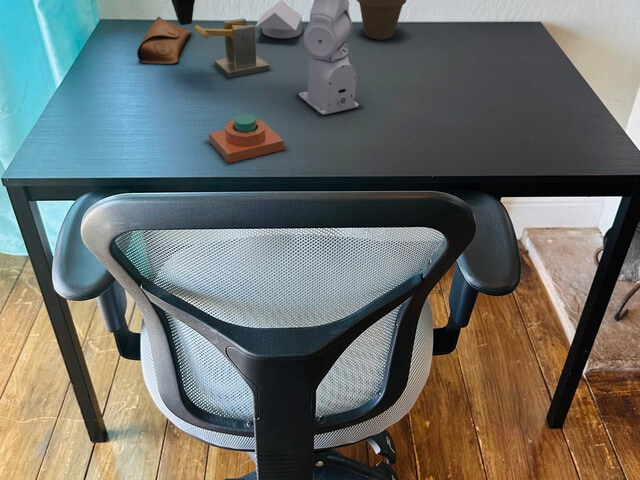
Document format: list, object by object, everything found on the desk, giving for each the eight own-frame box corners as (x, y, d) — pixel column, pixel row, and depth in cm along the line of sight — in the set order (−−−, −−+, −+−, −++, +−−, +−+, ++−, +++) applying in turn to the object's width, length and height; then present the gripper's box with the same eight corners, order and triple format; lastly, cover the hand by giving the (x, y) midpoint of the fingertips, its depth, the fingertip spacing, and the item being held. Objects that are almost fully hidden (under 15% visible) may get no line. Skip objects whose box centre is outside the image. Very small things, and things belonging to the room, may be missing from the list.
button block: (283, 149, 110) (283, 130, 108) (228, 163, 107) (227, 143, 104) (262, 130, 116) (262, 111, 113) (209, 142, 112) (207, 122, 109)
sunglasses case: (179, 62, 135) (158, 32, 131) (152, 78, 138) (131, 50, 134) (193, 31, 149) (174, 3, 145) (168, 46, 151) (149, 20, 147)
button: (260, 131, 109) (259, 121, 107) (239, 135, 107) (239, 125, 106) (250, 122, 111) (250, 112, 110) (231, 126, 109) (230, 116, 108)
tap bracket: (228, 78, 131) (225, 32, 125) (214, 65, 136) (210, 21, 130) (269, 70, 135) (267, 25, 129) (254, 58, 139) (252, 14, 133)
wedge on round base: (295, 46, 145) (304, 25, 155) (295, 14, 141) (304, -5, 150) (255, 43, 146) (266, 23, 155) (254, 11, 141) (265, -8, 151)
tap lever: (203, 42, 125) (204, 29, 124) (193, 34, 129) (194, 21, 127) (250, 43, 130) (252, 31, 129) (240, 35, 134) (241, 23, 132)
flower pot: (345, 29, 154) (347, -18, 147) (388, 24, 157) (392, -22, 150) (367, 46, 146) (370, -2, 139) (411, 40, 150) (417, -7, 143)
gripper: (140, -66, 118) (152, 14, 127) (168, -45, 109) (178, 39, 118) (178, -69, 121) (186, 9, 130) (208, -50, 112) (215, 33, 121)
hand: (185, 23), depth 124 cm, fingers closed
